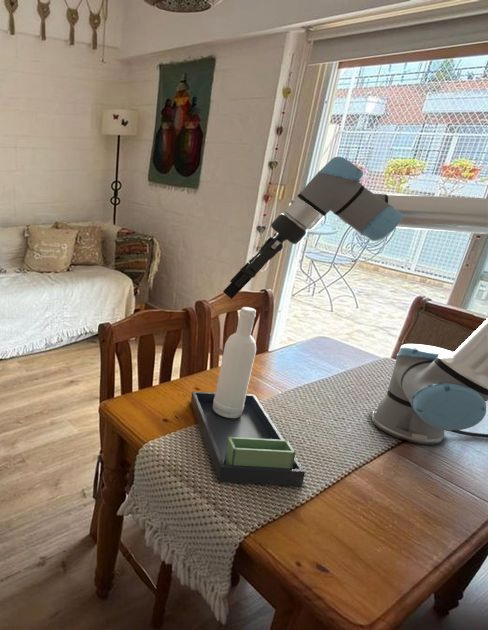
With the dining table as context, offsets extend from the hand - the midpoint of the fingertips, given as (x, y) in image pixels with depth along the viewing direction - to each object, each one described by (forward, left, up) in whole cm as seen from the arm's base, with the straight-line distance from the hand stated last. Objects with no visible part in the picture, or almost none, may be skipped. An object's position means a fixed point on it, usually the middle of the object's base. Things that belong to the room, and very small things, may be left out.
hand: (230, 289), depth 111 cm
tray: (-1, +12, -36) cm, 38 cm away
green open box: (+1, +25, -35) cm, 43 cm away
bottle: (-3, +1, -35) cm, 35 cm away
